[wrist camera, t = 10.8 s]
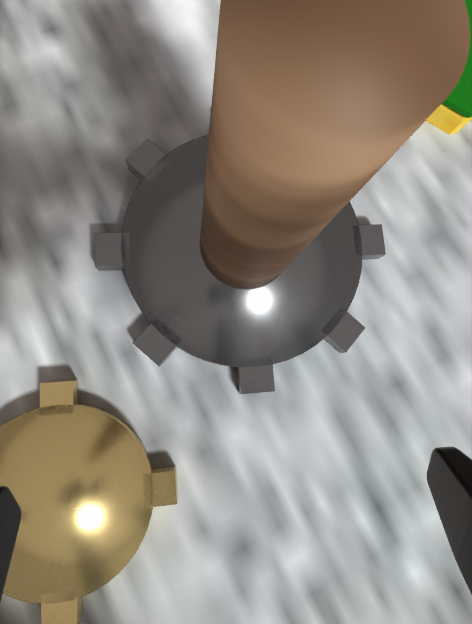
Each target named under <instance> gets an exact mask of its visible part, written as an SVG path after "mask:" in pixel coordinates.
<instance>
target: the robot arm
mask: <svg viewBox="0 0 472 624" xmlns="http://www.w3.org/2000/svg"><path fill="white" fill-rule="evenodd" d="M427 481H428V485H429V488H430V491H431V493H432V496H433V499H434V502H435V505H436V507H437V510H438V513H439V516H440V519H441V521H442V524H443V527H444V530H445V533H446V535H447V538H448V541H449V544H450V547H451V549H452V552H453V554H454V557H455V560H456V562H457V564H458V566H459V569H460V571H461V573H462V575H463V577H464V579H465V582H466V584H467V586H468V588H469V590H470V592H471V594H472V459H470V458H469V457H468V456H466V455H465V454H464V453H463V452H461V451H460V450H458V449H457V448H455V447H440V448H435V449H434V450H433V452H432V455H431V459H430V463H429V466H428V470H427ZM21 516H22V515H21V508H20V506H19V504H18V503H17V501H16V499H15V498H14V496H13V494H12V492H11V491H10V489H9V488H8V487H6V486H0V601H1V598H2V594H3V590H4V587H5V583H6V579H7V575H8V571H9V567H10V563H11V559H12V555H13V551H14V547H15V543H16V539H17V534H18V530H19V526H20V522H21Z"/></svg>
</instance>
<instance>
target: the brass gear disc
mask: <svg viewBox="0 0 472 624" xmlns="http://www.w3.org/2000/svg"><path fill="white" fill-rule="evenodd" d="M0 486H6V487H8V488H9V489H10V491H11V492H12V494H13V496H14V498H15V499H16V501H17V503H18V504H19V506H20V508H21V515H22V516H21V522H20V526H19V530H18V534H17V539H16V543H15V547H14V551H13V555H12V559H11V563H10V567H9V571H8V575H7V579H6V583H5V587H4V590H3V594H5V595H7V596H9V597H12V598H15V599H17V600H20V601H25V602H30V603H40V604H41V624H79V621H80V619H81V617H82V596H85V595H87V594H89V593H91V592H93V591H95V590H97V589H99V588H100V587H102V586H103V585H105V584H106V583H108V582H109V581H110V580H111V579H112V578H114V577H115V576H116V575H117V574H118V573H119V572H120V571H121V570H122V569H123V568H124V567H125V566H126V565H127V564H128V562H129V561H130V560H131V558H132V557H133V556H134V554H135V553H136V551H137V549H138V548H139V546H140V544H141V542H142V540H143V538H144V536H145V533H146V531H147V528H148V525H149V521H150V517H151V514H152V510H153V507H156V506H165V505H173V504H177V480H176V467H168V468H159V469H152V465H151V462H150V459H149V456H148V454H147V451H146V449H145V448H144V446H143V444H142V442H141V441H140V439H139V438H138V436H137V435H136V434H135V432H134V431H133V430H132V429H131V428H130V427H129V426H128V425H127V424H126V423H124V422H123V421H122V420H120V419H119V418H118V417H116V416H114V415H113V414H111V413H109V412H107V411H105V410H102V409H100V408H97V407H93V406H89V405H85V404H78V380H75V381H62V382H48V383H40V408H38V409H34V410H31V411H28V412H26V413H24V414H21V415H19V416H17V417H15V418H14V419H12V420H10V421H8V422H7V423H6V424H4V425H3V426H1V427H0Z"/></svg>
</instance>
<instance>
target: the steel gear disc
mask: <svg viewBox="0 0 472 624" xmlns="http://www.w3.org/2000/svg"><path fill="white" fill-rule="evenodd" d="M208 141H209V135H207V136H204V137H201V138H198V139H195V140H192V141H190V142H188V143H185V144H183V145H181V146H179V147H177V148H176V149H174V150H173V151H171V152H170V153H168V154H167V155H166V154H165V153H164V152H163V151H162V150H160V149H159V148H158V147H157V146H156V145H155V144H153V143H152V142H151V141H150V140H149V139H147V140H146V141H145V142H144V143H143V144H142V145H141V146H140V147H139V148H138V149H137V150H136V151H134V152H133V153H132V154H131V155H130V156H129V157H128V158H127V159H126V163H127V167H128V169H129V170H130V171H132V172H133V173H134V174H135V175H136V176H137V177H139V178H140V179H141V182H140V183H139V185H138V186H137V188H136V189H135V191H134V193H133V196H132V198H131V200H130V202H129V204H128V207H127V210H126V214H125V217H124V222H123V227H122V233H94V239H95V267H96V268H97V269H98V270H99V271H101V270H124V272H125V276H126V280H127V283H128V285H129V288H130V290H131V293H132V295H133V297H134V299H135V301H136V302H137V304H138V306H139V308H140V310H141V311H142V312H143V314H144V315H145V316H146V318H147V319H148V320H149V322H150V323H151V324H150V325H149V326H148V327H147V328H146V329H145V330H144V331H143V332H142V333H141V335H140V336H139V337H138V338H137V339H136V340H135V341H134V342H133V344H134V345H135V346H137V347H138V348H139V349H140V350H141V351H142V352H143V353H145V354H146V355H147V356H148V357H149V358H150V359H151V360H153V361H154V362H155V363H156V364H157V365H158V366H161V365H162V363H163V362H164V361H165V360H166V359H167V358H168V357H169V356H170V355H171V353H172V352H173V351H174V350H175V349H176V348H177V347H178V348H180V349H182V350H183V351H185V352H187V353H188V354H190V355H192V356H195V357H197V358H200V359H202V360H205V361H208V362H211V363H215V364H219V365H224V366H232V367H237V374H238V387H239V393H240V394H247V393H259V392H270V391H275V389H274V377H273V366H272V364H275V363H279V362H282V361H286V360H289V359H291V358H293V357H296V356H298V355H300V354H302V353H304V352H306V351H307V350H309V349H310V348H312V347H314V346H315V345H317V344H318V343H319V342H320V341H321V340H323V339H324V340H326V341H327V342H328V343H329V344H330V345H331V346H332V347H334V348H335V349H336V350H337V351H338V352H339V353H344V352H347V350H348V349H349V348H350V347H351V345H352V344H353V343H354V341H355V340H356V339H357V338H358V336H359V335H360V334H361V333H362V331H363V330H364V329H365V327H364V326H363V325H362V324H360V323H359V322H358V321H357V320H356V319H355V318H353V317H352V316H351V315H350V314H349V313H348V312H347V310H348V308H349V306H350V304H351V302H352V300H353V298H354V295H355V292H356V290H357V287H358V284H359V279H360V274H361V267H362V259H379V258H380V257H382V256H384V255H385V246H384V238H383V231H382V224H381V225H358V222H357V218H356V215H355V212H354V210H353V208H352V206H351V203H350V201H349V202H348V203H347V204H346V205H345V206H344V207H343V208H342V210H341V211H340V212H339V213H338V214H337V215H336V216H335V217H334V218H333V219H332V220H331V221H330V222H329V223H328V224H327V225H326V226H325V228H324V229H323V230H322V231H321V232H320V233H319V234H318V235H317V236H316V237H315V238H314V239H313V240H312V241H311V242H310V243H309V245H308V246H307V247H306V248H305V249H304V250H303V251H302V252H301V253H300V254H299V255H298V256H297V257H296V258H295V259H294V260H293V261H292V263H291V264H290V265H289V266H288V267H287V268H286V269H285V270H284V271H283V272H282V273H281V274H280V275H279V276H278V277H277V278H276V279H275V280H274V281H272V282H271V283H269V284H267V285H266V286H263V287H260V288H256V289H249V290H247V289H237V288H233V287H230V286H228V285H225V284H224V283H222V282H220V281H219V280H218V279H216V278H215V277H214V276H213V275H212V274H211V273H210V271H209V270H208V269H207V267H206V265H205V264H204V261H203V259H202V256H201V252H200V232H201V221H202V209H203V198H204V187H205V175H206V164H207V152H208Z"/></svg>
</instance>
